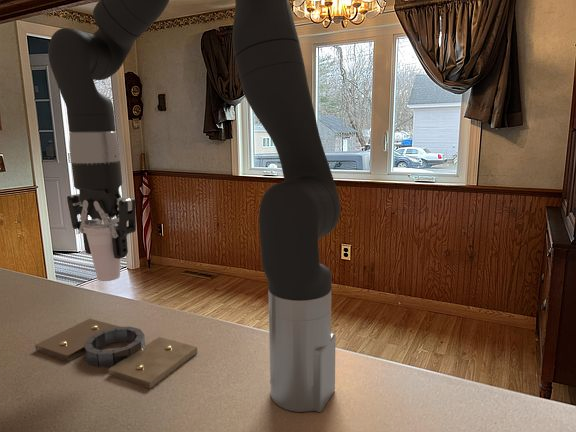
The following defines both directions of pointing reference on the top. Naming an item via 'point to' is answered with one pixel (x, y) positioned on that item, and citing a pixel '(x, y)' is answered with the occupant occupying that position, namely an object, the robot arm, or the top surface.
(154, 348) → the hinge base
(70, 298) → the top surface
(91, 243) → the smoothie
